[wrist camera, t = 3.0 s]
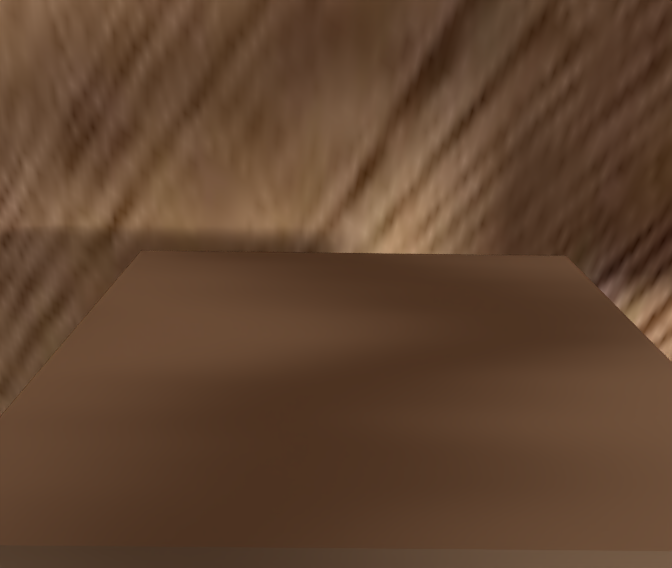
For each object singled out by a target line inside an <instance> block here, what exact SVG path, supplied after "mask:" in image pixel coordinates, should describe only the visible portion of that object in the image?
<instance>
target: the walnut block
mask: <svg viewBox="0 0 672 568" xmlns="http://www.w3.org/2000/svg"><path fill="white" fill-rule="evenodd" d="M0 568H672V362H671V361H670V360H669V359H668V358H667V357H666V356H665V355H664V354H663V353H662V352H661V351H660V350H659V349H658V348H657V347H656V346H655V345H654V344H653V343H652V342H651V341H650V340H649V339H648V338H647V337H646V336H645V335H644V334H643V333H642V332H641V331H640V330H639V329H638V328H637V327H636V326H635V325H634V324H633V323H632V322H631V321H630V320H629V319H628V318H627V317H626V316H625V315H624V314H623V313H622V312H621V311H620V310H619V308H618V307H617V306H616V305H615V304H614V303H613V302H612V301H611V300H610V299H609V298H608V297H607V296H606V295H605V294H604V293H603V292H602V291H601V290H600V289H599V288H598V287H597V286H596V285H595V284H594V283H593V282H592V281H591V280H590V279H589V278H588V277H587V276H586V275H585V274H584V273H583V272H582V271H581V270H580V269H579V268H578V267H577V266H576V265H575V264H574V263H573V262H572V261H571V260H570V259H569V258H568V257H567V256H541V255H461V254H380V253H299V252H219V251H141V252H140V253H139V254H138V255H137V256H136V258H135V259H134V260H133V261H132V262H131V263H130V265H129V266H128V267H127V268H126V269H125V270H124V272H123V273H122V274H121V275H120V276H119V278H118V279H117V280H116V281H115V282H114V283H113V285H112V286H111V287H110V288H109V289H108V290H107V292H106V293H105V294H104V295H103V296H102V298H101V299H100V300H99V301H98V302H97V303H96V305H95V306H94V307H93V308H92V309H91V310H90V312H89V313H88V314H87V315H86V316H85V317H84V319H83V320H82V321H81V322H80V323H79V325H78V326H77V327H76V328H75V329H74V330H73V332H72V333H71V334H70V335H69V336H68V337H67V339H66V340H65V341H64V342H63V343H62V345H61V346H60V347H59V348H58V349H57V350H56V352H55V353H54V354H53V355H52V356H51V357H50V359H49V360H48V361H47V362H46V363H45V365H44V366H43V367H42V368H41V369H40V370H39V372H38V373H37V374H36V375H35V376H34V377H33V379H32V380H31V381H30V382H29V383H28V385H27V386H26V387H25V388H24V389H23V390H22V392H21V393H20V394H19V395H18V396H17V397H16V399H15V400H14V401H13V402H12V403H11V405H10V406H9V407H8V408H7V409H6V410H5V412H4V413H3V414H2V415H1V416H0Z"/></svg>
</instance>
